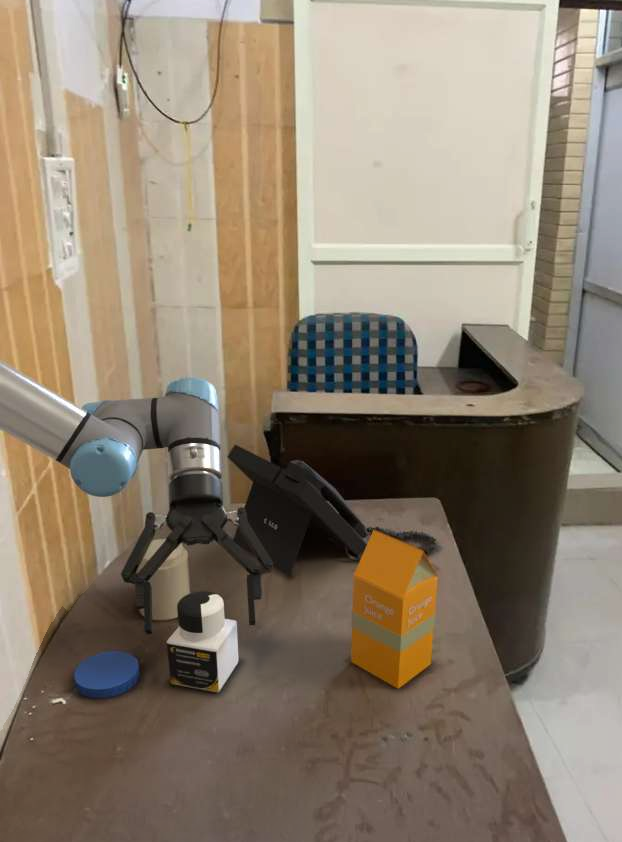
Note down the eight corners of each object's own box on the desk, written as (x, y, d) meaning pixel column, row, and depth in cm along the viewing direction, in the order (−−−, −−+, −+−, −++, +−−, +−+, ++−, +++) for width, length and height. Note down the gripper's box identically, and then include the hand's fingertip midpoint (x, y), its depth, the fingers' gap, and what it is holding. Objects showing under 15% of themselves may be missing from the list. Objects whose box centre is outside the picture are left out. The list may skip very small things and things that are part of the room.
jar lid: (150, 664, 107) (150, 655, 106) (120, 703, 99) (119, 694, 98) (96, 655, 108) (95, 646, 108) (62, 692, 101) (60, 683, 100)
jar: (137, 622, 116) (130, 564, 112) (140, 594, 123) (134, 539, 119) (191, 617, 117) (186, 560, 113) (191, 590, 125) (187, 535, 120)
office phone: (445, 549, 141) (453, 447, 132) (325, 601, 123) (326, 488, 115) (343, 496, 160) (344, 405, 152) (227, 536, 142) (222, 434, 134)
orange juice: (397, 689, 104) (405, 561, 95) (349, 661, 109) (353, 538, 101) (432, 663, 109) (442, 540, 101) (385, 638, 114) (390, 519, 106)
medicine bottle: (169, 684, 103) (162, 609, 98) (192, 653, 109) (187, 581, 104) (218, 694, 101) (214, 618, 97) (239, 662, 108) (236, 589, 103)
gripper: (100, 475, 103) (98, 630, 96) (283, 467, 108) (296, 614, 101) (108, 494, 110) (107, 641, 103) (280, 486, 115) (292, 625, 108)
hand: (201, 628), depth 102 cm, fingers open, 13 cm apart
